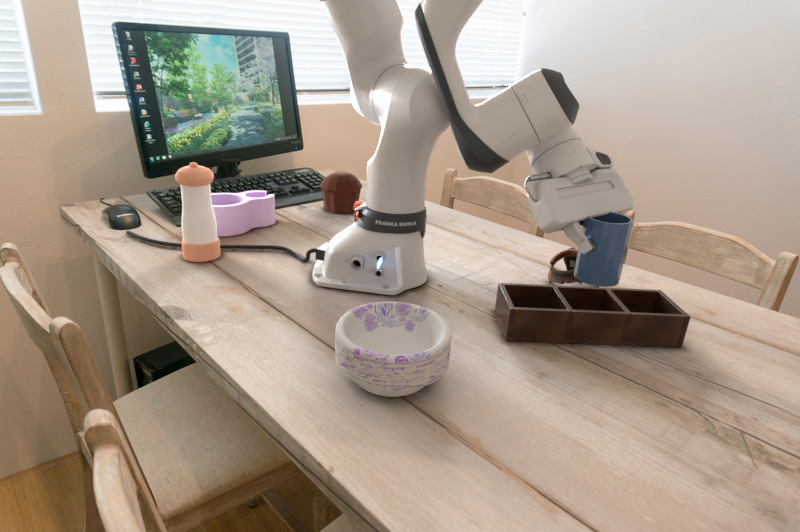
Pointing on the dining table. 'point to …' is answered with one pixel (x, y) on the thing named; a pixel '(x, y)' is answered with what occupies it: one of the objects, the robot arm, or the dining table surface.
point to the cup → (604, 249)
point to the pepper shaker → (197, 214)
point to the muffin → (340, 192)
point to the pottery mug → (570, 263)
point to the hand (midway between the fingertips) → (606, 247)
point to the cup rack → (589, 315)
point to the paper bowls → (392, 347)
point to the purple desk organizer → (242, 211)
